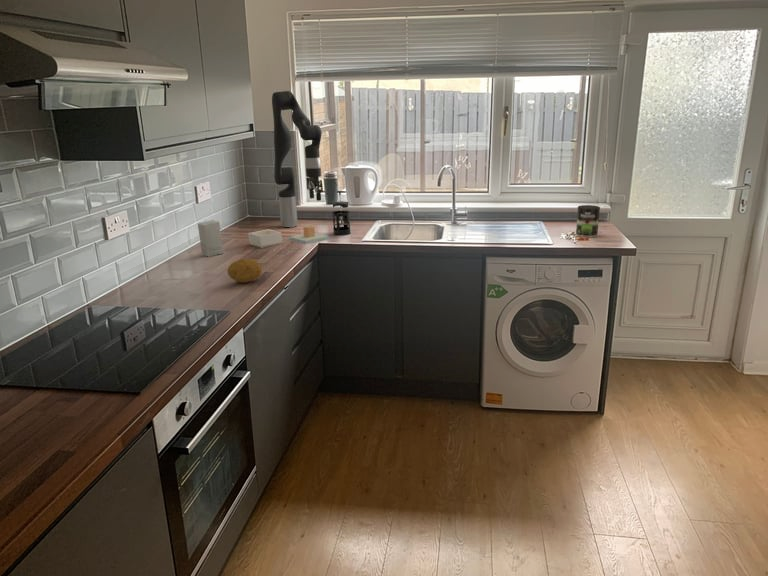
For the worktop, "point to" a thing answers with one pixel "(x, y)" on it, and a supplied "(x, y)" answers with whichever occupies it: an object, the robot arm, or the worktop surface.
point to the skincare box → (210, 238)
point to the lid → (309, 235)
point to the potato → (244, 270)
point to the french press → (346, 219)
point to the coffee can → (587, 221)
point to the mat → (309, 242)
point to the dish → (265, 238)
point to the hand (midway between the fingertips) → (315, 199)
